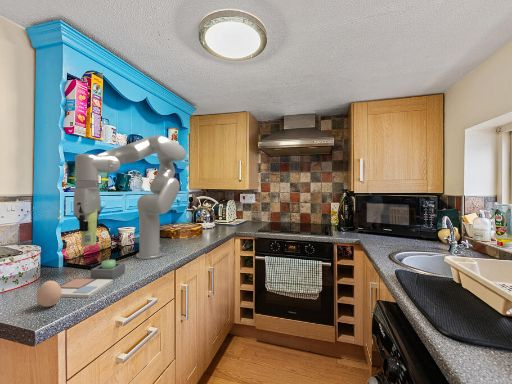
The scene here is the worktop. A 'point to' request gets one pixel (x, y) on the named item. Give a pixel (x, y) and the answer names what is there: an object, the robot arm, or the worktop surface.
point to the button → (108, 264)
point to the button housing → (108, 272)
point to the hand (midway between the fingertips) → (89, 229)
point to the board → (83, 287)
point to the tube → (90, 230)
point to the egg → (49, 294)
